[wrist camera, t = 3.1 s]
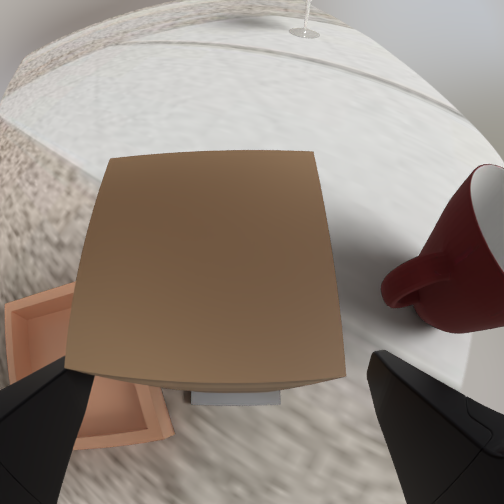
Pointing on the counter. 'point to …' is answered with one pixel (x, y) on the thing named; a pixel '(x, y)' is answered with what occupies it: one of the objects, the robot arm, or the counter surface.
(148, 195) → the wood grain bar
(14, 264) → the counter surface
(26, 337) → the dish
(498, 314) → the mug
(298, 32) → the wineglass
